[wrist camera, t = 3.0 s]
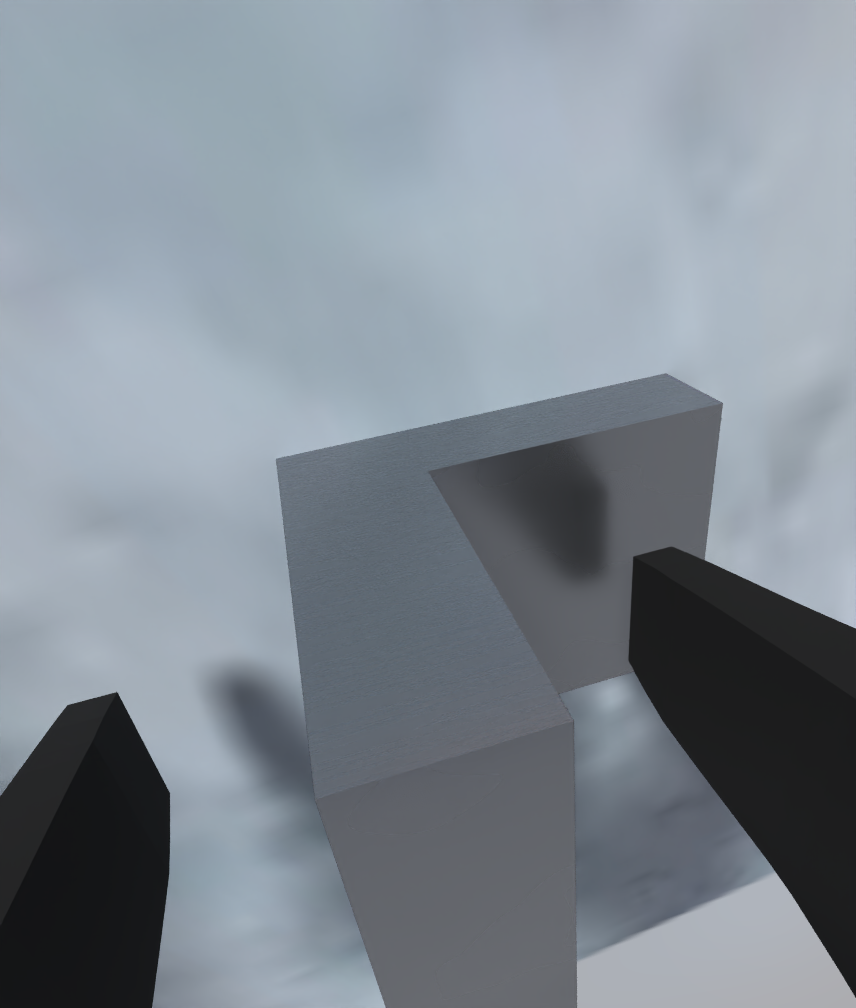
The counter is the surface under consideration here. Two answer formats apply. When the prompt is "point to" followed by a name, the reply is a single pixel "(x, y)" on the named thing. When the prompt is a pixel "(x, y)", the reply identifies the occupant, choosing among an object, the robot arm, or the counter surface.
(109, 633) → the counter surface
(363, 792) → the bracket
